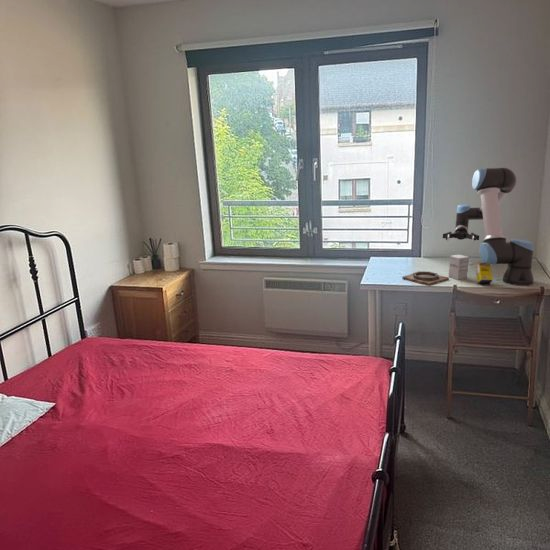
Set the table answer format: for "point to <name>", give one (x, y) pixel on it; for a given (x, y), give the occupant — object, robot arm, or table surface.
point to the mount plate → (427, 282)
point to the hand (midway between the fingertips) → (460, 239)
